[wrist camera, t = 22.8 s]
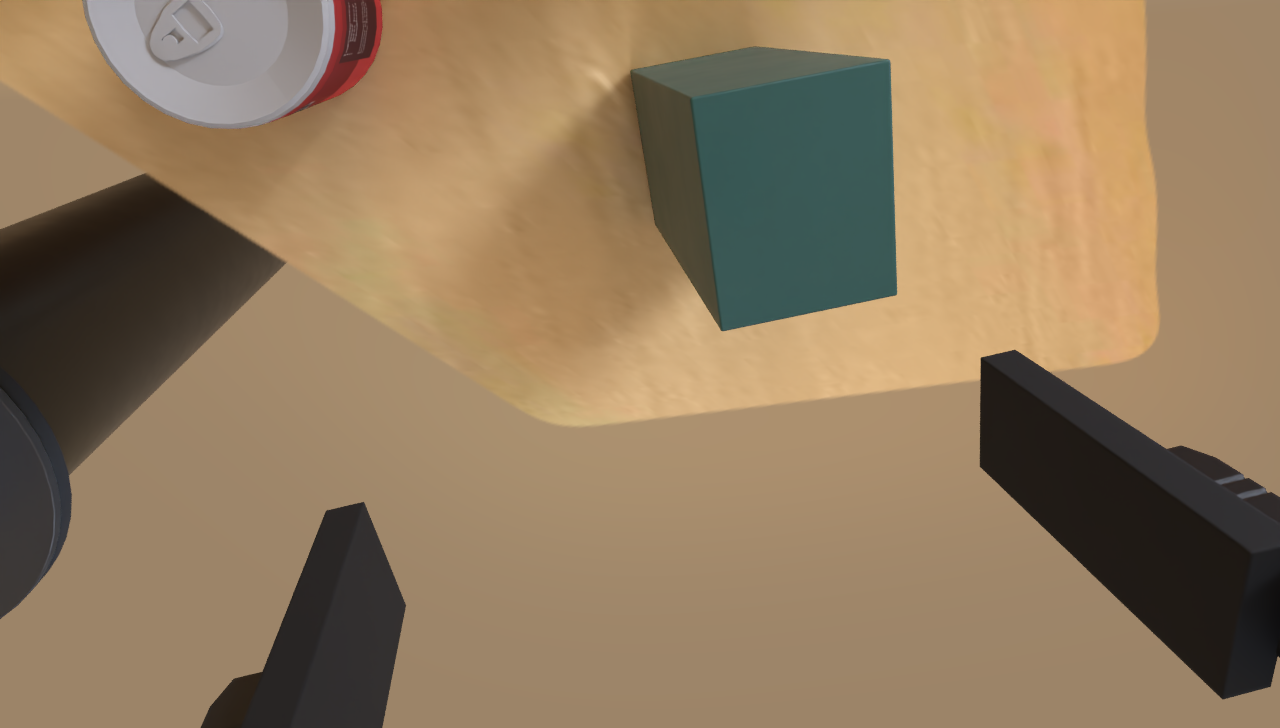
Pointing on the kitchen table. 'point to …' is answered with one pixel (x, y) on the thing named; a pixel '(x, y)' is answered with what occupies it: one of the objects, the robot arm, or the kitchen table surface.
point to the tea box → (773, 178)
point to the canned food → (236, 54)
